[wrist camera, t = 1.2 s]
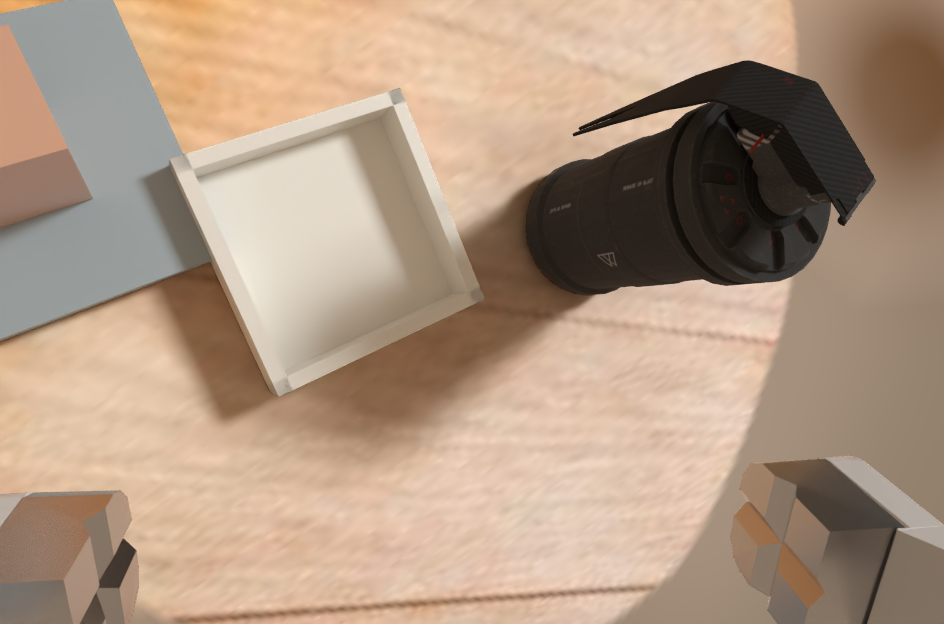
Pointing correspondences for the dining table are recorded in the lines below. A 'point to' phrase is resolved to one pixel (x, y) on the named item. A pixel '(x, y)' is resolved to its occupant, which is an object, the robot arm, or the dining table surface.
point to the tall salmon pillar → (31, 145)
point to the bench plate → (95, 173)
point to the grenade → (702, 188)
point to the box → (328, 236)
